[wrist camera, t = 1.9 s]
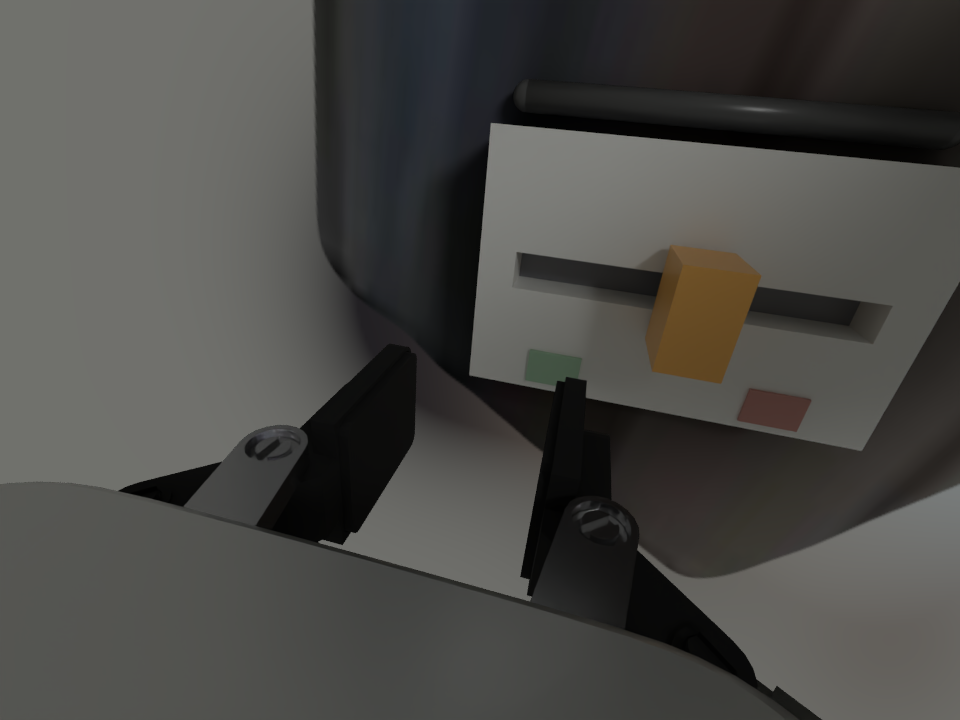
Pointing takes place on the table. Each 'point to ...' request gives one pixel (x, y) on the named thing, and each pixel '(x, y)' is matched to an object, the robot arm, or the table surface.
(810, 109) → the switch panel
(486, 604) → the robot arm
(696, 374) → the lever
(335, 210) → the table surface
